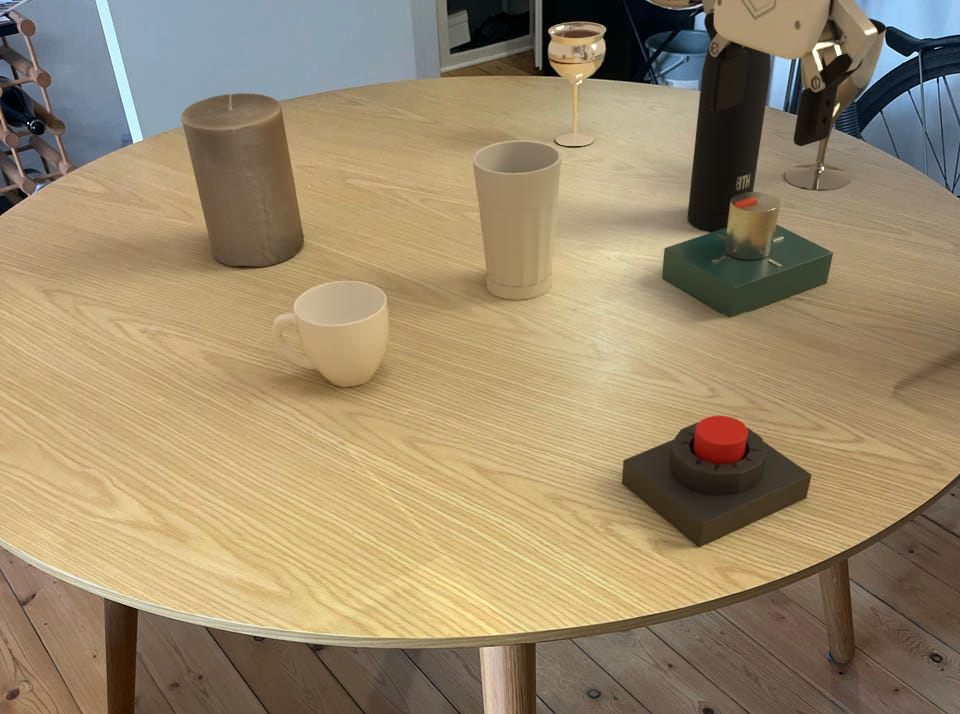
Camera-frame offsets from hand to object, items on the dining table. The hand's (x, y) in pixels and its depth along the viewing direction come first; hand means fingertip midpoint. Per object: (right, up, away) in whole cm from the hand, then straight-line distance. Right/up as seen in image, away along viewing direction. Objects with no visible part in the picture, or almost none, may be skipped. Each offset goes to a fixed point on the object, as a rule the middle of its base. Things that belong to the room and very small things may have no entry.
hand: (766, 124), depth 83 cm
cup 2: (-19, -7, +17) cm, 27 cm away
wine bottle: (+2, +3, +26) cm, 26 cm away
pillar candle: (-47, -1, +25) cm, 53 cm away
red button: (-6, -28, -10) cm, 31 cm away
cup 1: (-36, -19, +7) cm, 41 cm away
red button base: (-6, -31, -7) cm, 32 cm away
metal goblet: (+15, +10, +32) cm, 37 cm away
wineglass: (-11, +20, +43) cm, 49 cm away
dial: (+2, -5, +14) cm, 15 cm away
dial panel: (+2, -7, +16) cm, 17 cm away
